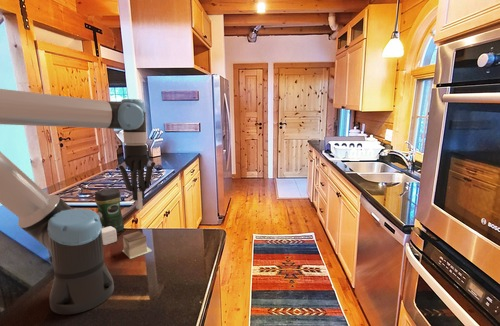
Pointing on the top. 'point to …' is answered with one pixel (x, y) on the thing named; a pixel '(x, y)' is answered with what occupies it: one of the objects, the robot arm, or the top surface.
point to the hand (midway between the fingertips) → (139, 208)
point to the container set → (109, 235)
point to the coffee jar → (109, 208)
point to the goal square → (139, 254)
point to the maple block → (134, 243)
